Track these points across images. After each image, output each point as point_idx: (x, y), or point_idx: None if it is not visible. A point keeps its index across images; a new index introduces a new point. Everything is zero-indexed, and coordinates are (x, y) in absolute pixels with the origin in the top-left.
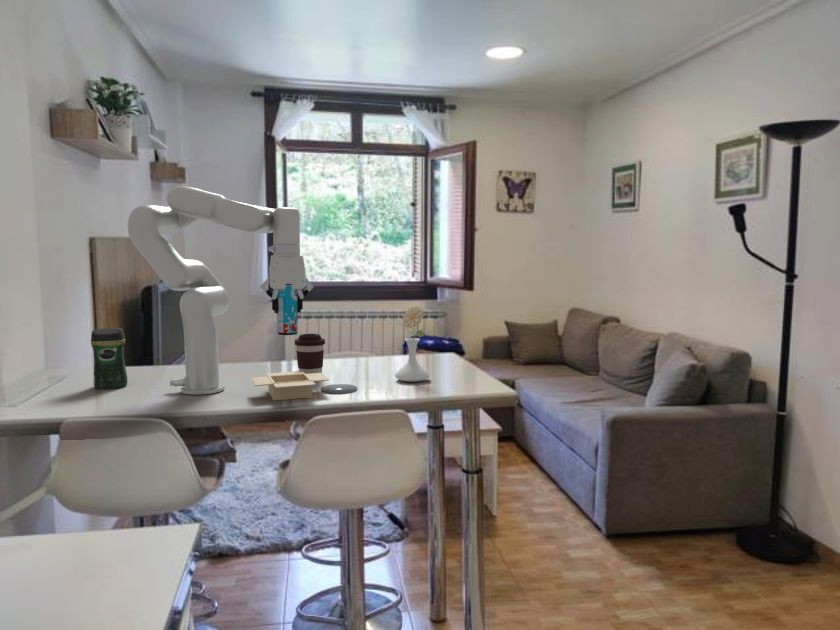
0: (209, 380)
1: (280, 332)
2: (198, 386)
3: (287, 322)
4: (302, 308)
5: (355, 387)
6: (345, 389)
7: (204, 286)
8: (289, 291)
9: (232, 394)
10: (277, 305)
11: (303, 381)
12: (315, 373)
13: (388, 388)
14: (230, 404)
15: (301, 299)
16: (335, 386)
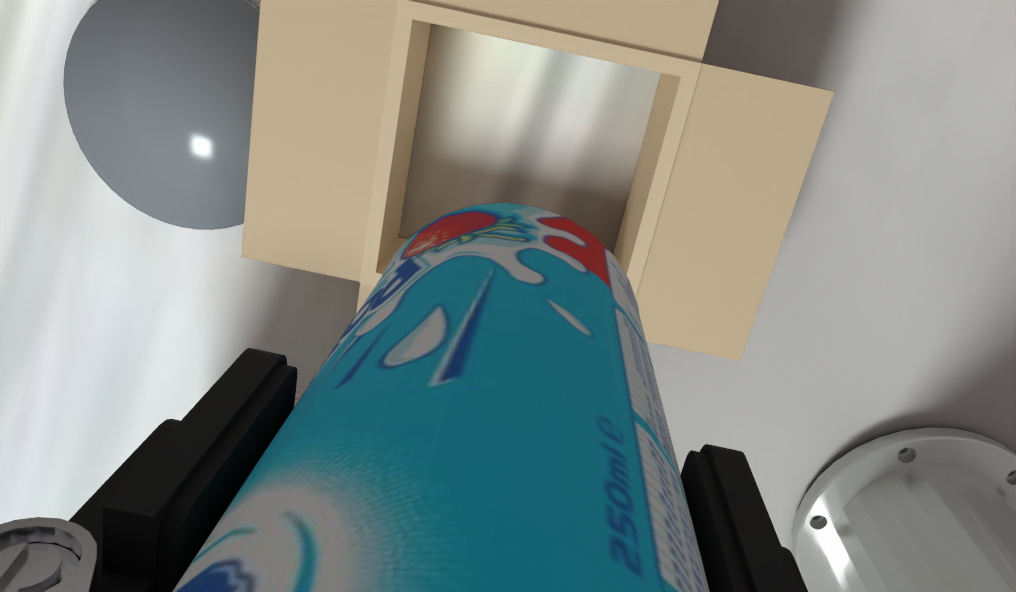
0: (947, 499)
1: (628, 280)
2: (999, 489)
3: (553, 255)
4: (169, 420)
5: (75, 59)
6: (157, 38)
7: None
8: None
9: (818, 358)
10: (729, 543)
11: (470, 12)
12: (289, 253)
13: None
14: (953, 107)
15: (73, 554)
16: (194, 165)
